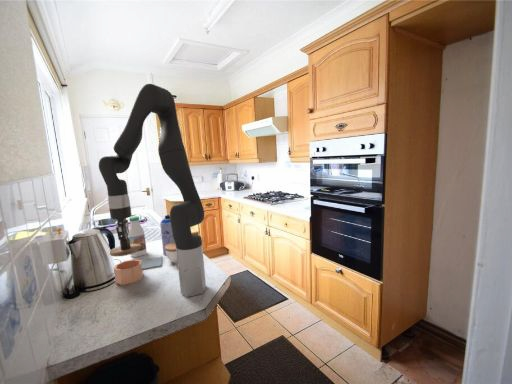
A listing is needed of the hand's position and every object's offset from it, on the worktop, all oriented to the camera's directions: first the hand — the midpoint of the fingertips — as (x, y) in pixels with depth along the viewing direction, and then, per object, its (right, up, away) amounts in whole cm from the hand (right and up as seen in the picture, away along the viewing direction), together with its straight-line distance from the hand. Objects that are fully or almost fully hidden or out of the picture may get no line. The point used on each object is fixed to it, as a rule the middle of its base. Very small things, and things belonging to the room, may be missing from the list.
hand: (125, 246), depth 105 cm
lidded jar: (+16, -11, +18) cm, 27 cm away
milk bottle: (-8, -10, +29) cm, 31 cm away
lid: (0, -2, 0) cm, 2 cm away
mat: (+3, -11, +16) cm, 20 cm away
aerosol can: (+9, -9, +28) cm, 31 cm away
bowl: (+1, -14, +2) cm, 14 cm away
